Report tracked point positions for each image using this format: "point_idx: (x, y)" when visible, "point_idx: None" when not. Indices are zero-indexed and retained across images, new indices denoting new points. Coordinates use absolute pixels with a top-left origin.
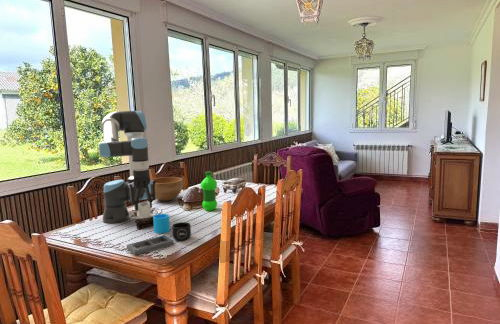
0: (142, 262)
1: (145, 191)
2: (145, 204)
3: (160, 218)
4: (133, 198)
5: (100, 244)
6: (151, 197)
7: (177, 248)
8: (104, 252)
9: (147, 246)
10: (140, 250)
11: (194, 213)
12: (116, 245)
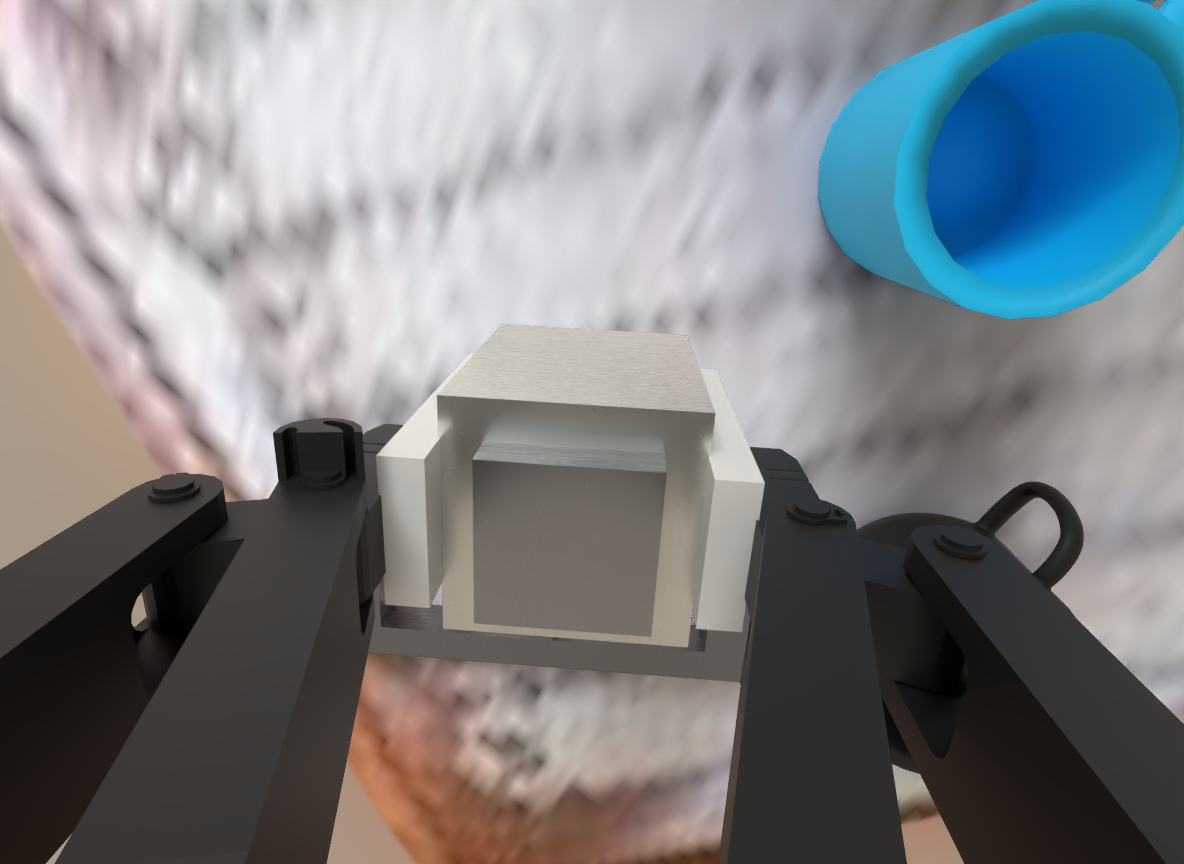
0: (363, 765)
1: (732, 813)
2: (588, 618)
3: (944, 293)
4: (115, 746)
5: (115, 73)
6: (920, 595)
7: (706, 739)
8: (130, 362)
9: (477, 635)
10: (398, 649)
11: None
12: (274, 259)
